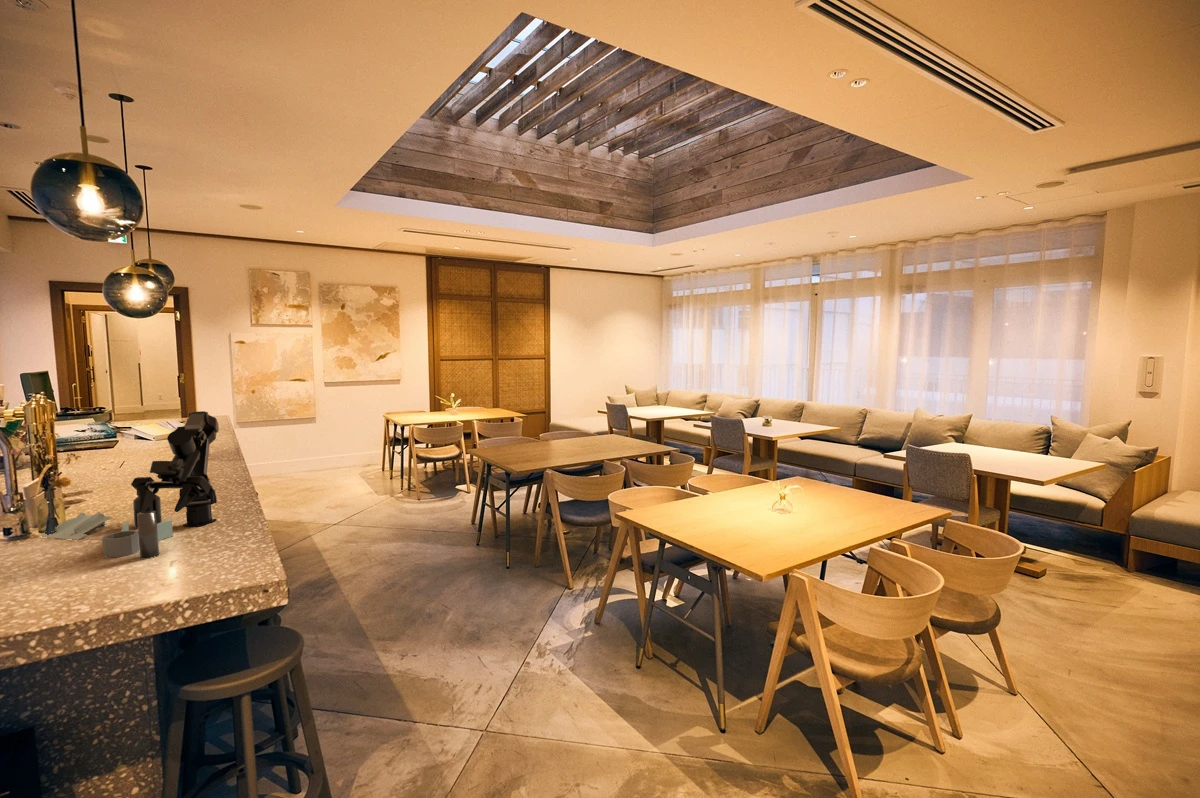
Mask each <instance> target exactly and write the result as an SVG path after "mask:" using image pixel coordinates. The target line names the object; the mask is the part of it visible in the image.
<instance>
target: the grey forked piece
mask: <svg viewBox="0 0 1200 798" xmlns="http://www.w3.org/2000/svg"><path fill="white" fill-rule="evenodd" d="M129 527H130V526H129V522H128V521H127V522H124V524H123V526H122V527H121V531H117V532H112V533H109V534H107V535H104V536H103V537H102V538H101V540H102V551H103V557H105V556H106V557H105V558H109V557H114V558H121V557H120V556H122V557H126V556H130V555H129V554H131V555H133V553H134V554H136V553H138V552H137V551H139V550H140V547H139V534H138V528H136V529H135V530H133V529H132V530H131V529H130V528H129ZM157 532H158V540H160V541H162V540H161V539H163V540H165V539H164V538H167V537H170V538H172V537H171V536H174V533H173V519H168V520H165V521H162V522H161V523H158V524H157ZM167 539H168V538H167ZM135 552H136V553H135ZM139 552H140V551H139ZM125 555H126V556H125Z"/></svg>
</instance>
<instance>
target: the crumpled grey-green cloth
mask: <svg viewBox="0 0 1200 798" xmlns="http://www.w3.org/2000/svg"><path fill="white" fill-rule="evenodd" d="M110 519H112V516H110V515H109V516H108V515H106V516H105V514H104V513H101V512H96V513H94V514H86V513H85V512H80V513H79V514H78V515H77V516H76V517H73V518H70V519H67V520H65V521H64V522H61V523H59V524H58V525H56V526H57V527H56V526H55V527H54V531H56V532H55V533H53V534H49V535H47V534H45V532H43V533H41V534H40V535H41V536H42V537H47V538H46V539H50V538H55V539H54V540H63V539H72V540H78V541H80V540H82V539H83V538H85V537H87V536H88V534H87V533H88V532H90V531H91V530H93V529H94V528H96V527H98V525H106V521H108V520H110ZM106 526H107V525H106ZM79 539H80V540H79Z"/></svg>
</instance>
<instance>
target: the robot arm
mask: <svg viewBox="0 0 1200 798" xmlns="http://www.w3.org/2000/svg"><path fill="white" fill-rule="evenodd" d="M219 429H220V428H219V422H218V419H217V418H216V417H215V416H212V415H210V414H209V413H208V411H201V410H200V411H191V412H188V418H187V419H186V423H185V424H184V425H183V426H176V429H175V430H173V431H171V432H170V433H169V434H168V435H167V438H166V439H167V443H168V445H169V447H170V450H171V452H172V454H173V455H174V456H173V457H172V460H153V461H152V462H151V465H150V470H149V473H151V474H156V478H158V479H160V480H161V481H160V480H159V481H155V480H154V479H153V478H152V477H151V476H137V477H135V478H133V480H132V481H131V484H130V485H131V487H132V488H134V489H135V490H136V492H137V491H138V492H139V493H140V512H144V511H145V510H146V509H147V508H148V507H149V505H150V504H151V503H152V501H153V500H154V499H155V497H156V495H157V494H158V493H159V490H160V489H179V492H178V493H179V498H178V500H177V503H176V504H175V508H174V512H175V513H179V512H180V511H181V510H182V509H184V508H186V512H185V514H186V515H185V517H186V522H185V523H183V524H182V526H183V527H185V526H186V527H204V526H206V525H208V524H210V523H213V522H215V521H217V518H212V517H213V516H212V515H213V514H212V505H214V504H217V503H218V500H217V493H216V489H214V486H213V485H212V484H211V481H210V478H209V476H208V465H209V457H210V455H209V453H210V445H211V443H213V442H214V441H215V440H216V438H217V433H219Z"/></svg>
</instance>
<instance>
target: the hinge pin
mask: <svg viewBox="0 0 1200 798" xmlns="http://www.w3.org/2000/svg"><path fill="white" fill-rule="evenodd" d="M137 522H138V528H137V529H138V534H139V547H140V551H139V556H140V559H141V558H149V559H151V558H150V557H153V558H155V557H154V556H156V557H158V556H160V547H159V541H158V532H157V519H156V511H145V512H140V513H138V514H137ZM157 555H158V556H157Z"/></svg>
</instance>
